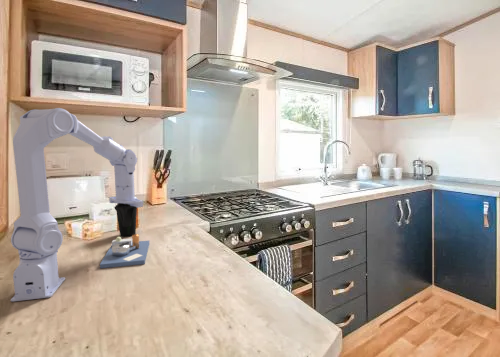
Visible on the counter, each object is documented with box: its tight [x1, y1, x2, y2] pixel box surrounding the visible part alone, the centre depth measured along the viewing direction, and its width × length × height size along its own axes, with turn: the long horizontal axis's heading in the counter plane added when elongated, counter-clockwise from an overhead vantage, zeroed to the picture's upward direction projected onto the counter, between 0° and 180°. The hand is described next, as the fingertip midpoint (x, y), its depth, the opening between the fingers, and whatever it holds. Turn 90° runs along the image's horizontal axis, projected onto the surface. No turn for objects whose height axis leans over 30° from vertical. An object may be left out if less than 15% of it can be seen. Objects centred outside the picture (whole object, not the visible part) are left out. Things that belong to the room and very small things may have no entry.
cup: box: [115, 203, 138, 238], centre depth 111 cm, size 8×8×12 cm
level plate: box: [99, 236, 150, 269], centre depth 91 cm, size 18×12×4 cm, turn 15°
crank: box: [112, 233, 140, 256], centre depth 90 cm, size 9×5×4 cm, turn 150°
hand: (126, 226), depth 95 cm, fingers closed
